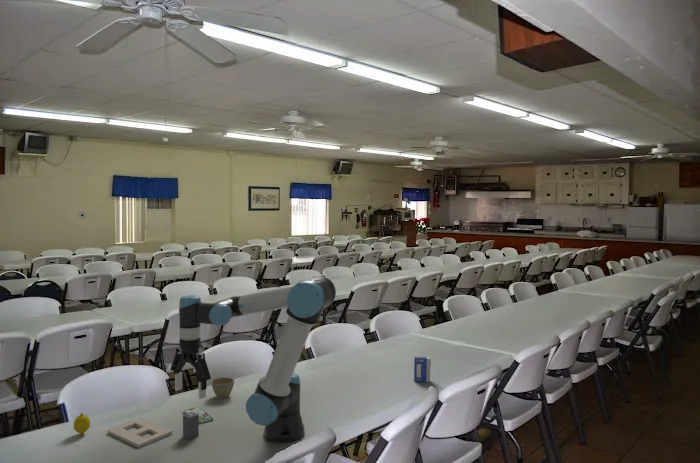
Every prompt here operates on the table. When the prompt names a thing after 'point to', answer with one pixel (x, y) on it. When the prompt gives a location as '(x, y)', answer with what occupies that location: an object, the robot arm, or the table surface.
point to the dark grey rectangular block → (190, 425)
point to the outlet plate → (139, 432)
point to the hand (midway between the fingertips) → (190, 393)
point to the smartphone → (200, 415)
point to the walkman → (422, 369)
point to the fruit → (82, 423)
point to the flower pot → (222, 386)
